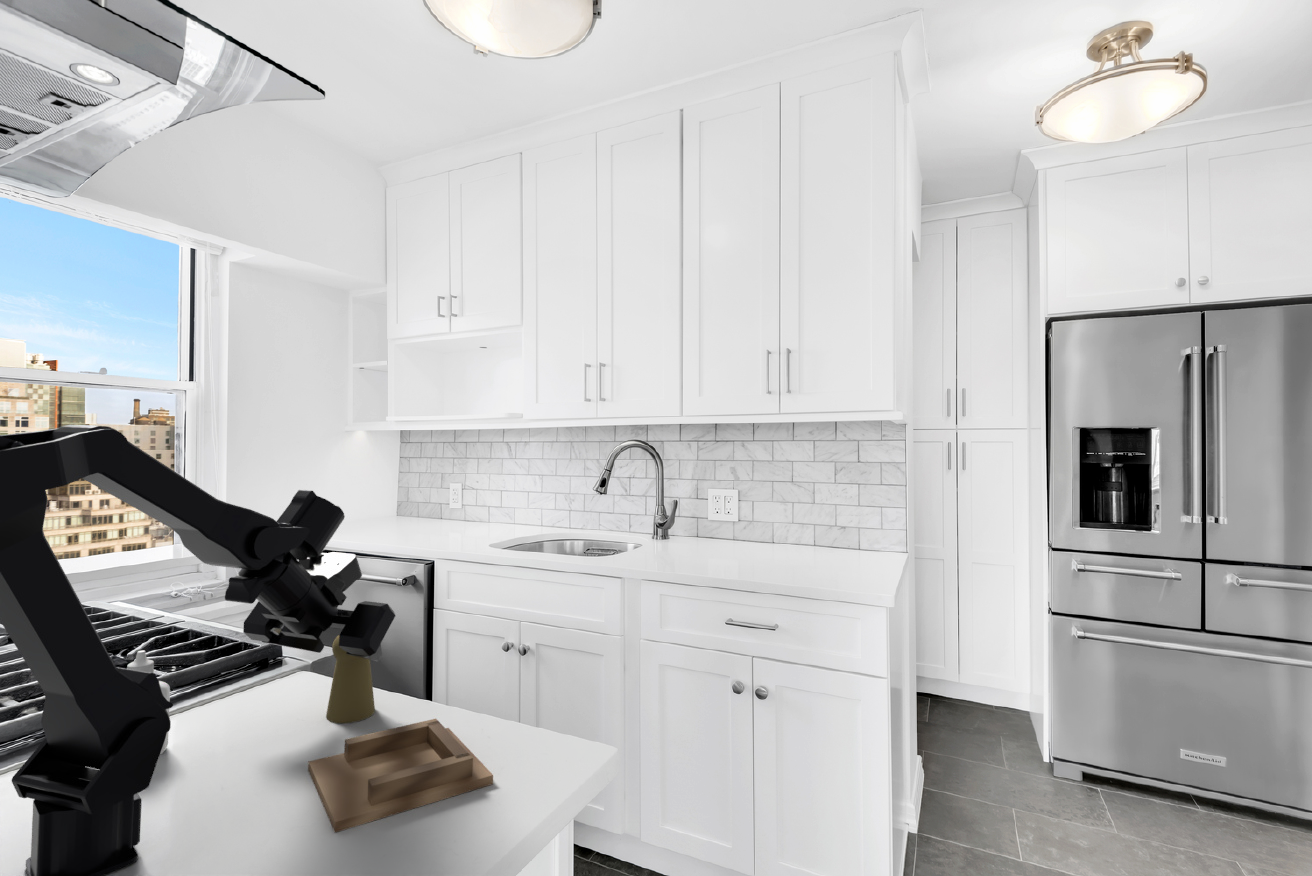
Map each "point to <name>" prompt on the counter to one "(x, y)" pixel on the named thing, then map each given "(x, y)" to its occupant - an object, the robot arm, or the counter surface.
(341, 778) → the seat
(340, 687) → the olive pepper mill
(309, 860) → the counter surface
